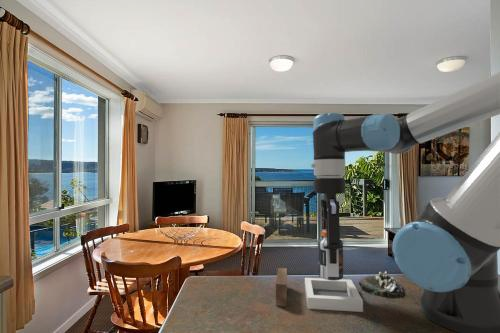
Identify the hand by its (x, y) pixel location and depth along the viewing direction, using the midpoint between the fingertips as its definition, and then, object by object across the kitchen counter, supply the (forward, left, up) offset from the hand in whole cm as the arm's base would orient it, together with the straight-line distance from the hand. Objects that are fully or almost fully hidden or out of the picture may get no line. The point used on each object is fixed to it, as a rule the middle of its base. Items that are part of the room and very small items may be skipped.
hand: (330, 271), depth 68 cm
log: (-14, -8, -7) cm, 17 cm away
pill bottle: (0, 0, -2) cm, 2 cm away
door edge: (+12, 0, -7) cm, 14 cm away
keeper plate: (0, 0, -7) cm, 7 cm away
